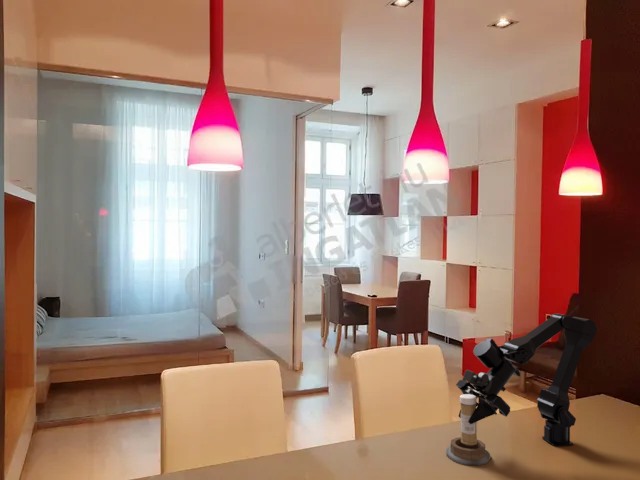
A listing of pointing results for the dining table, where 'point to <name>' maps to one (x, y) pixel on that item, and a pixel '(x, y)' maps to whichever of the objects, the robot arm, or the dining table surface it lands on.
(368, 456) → the dining table surface
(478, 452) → the collar socket
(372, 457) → the dining table surface
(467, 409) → the sprinkles bottle
